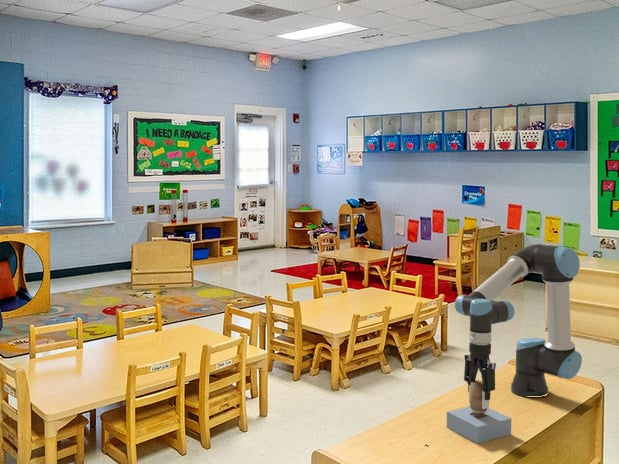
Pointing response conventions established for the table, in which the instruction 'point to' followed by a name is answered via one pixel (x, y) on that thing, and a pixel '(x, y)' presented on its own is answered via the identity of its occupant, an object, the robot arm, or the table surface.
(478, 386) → the peg
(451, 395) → the table surface
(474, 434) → the seat block
